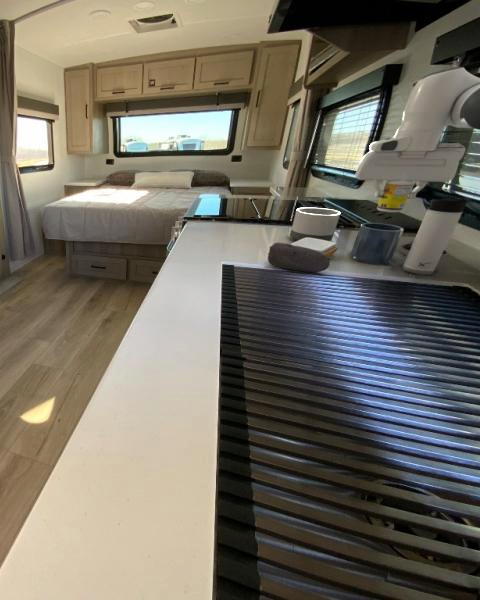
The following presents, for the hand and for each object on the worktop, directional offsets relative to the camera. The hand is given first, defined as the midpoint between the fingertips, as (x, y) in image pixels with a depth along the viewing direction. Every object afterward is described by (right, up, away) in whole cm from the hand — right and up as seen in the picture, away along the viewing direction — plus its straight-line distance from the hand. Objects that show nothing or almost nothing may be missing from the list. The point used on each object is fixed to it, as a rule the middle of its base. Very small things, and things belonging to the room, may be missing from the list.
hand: (393, 197), depth 93 cm
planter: (-5, -7, +27) cm, 28 cm away
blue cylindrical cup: (0, -16, +8) cm, 18 cm away
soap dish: (-17, -16, +10) cm, 25 cm away
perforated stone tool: (-26, -20, +2) cm, 33 cm away
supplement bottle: (0, -3, +2) cm, 4 cm away
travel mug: (+6, -21, -1) cm, 22 cm away
